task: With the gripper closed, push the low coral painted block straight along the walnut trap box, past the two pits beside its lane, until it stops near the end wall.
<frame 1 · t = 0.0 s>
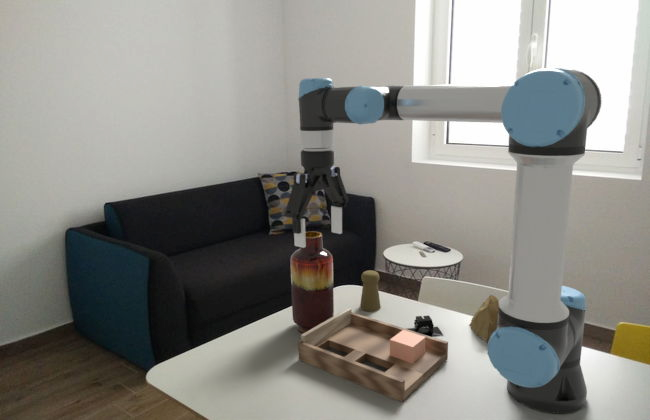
hand: (319, 239, 120), 28 cm above the table, tool pointing down, fingers open, 13 cm apart
black piece: (423, 334, 133), on the table
trap box: (372, 359, 120), on the table
rock: (483, 335, 131), on the table
block: (407, 354, 119), point 2 cm above the table, touching trap box
cork: (370, 307, 149), on the table
vase: (313, 328, 137), on the table
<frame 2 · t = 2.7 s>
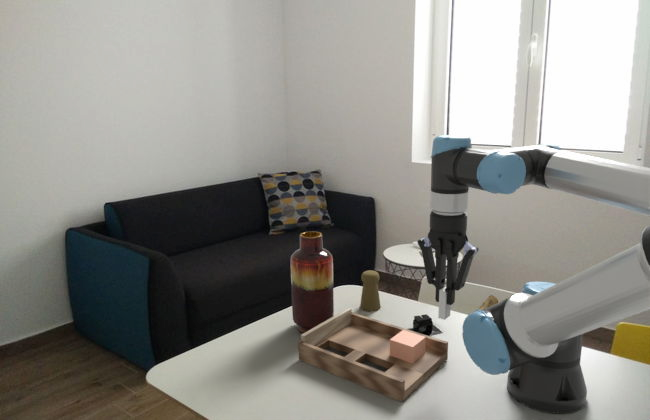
hand: (444, 316, 110), 14 cm above the table, tool pointing down, fingers closed
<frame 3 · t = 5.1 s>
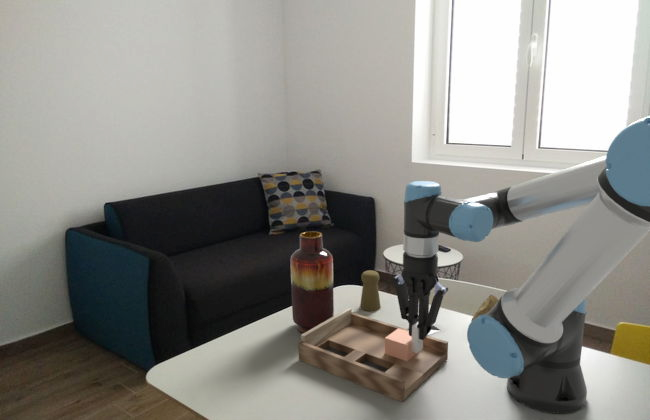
hand: (417, 349, 117), 4 cm above the table, tool pointing down, fingers closed
block: (402, 352, 119), point 2 cm above the table, touching gripper
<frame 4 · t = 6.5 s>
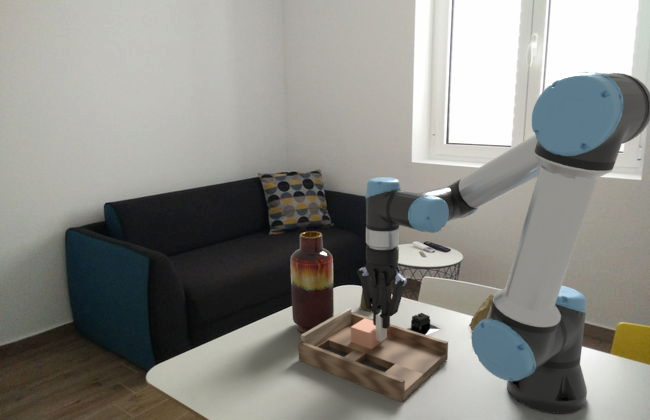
hand: (381, 338, 123), 4 cm above the table, tool pointing down, fingers closed
block: (368, 340, 125), point 2 cm above the table, touching gripper
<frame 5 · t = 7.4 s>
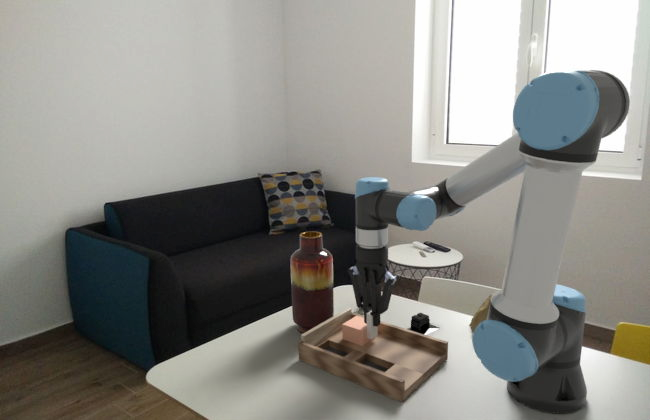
hand: (372, 336, 124), 3 cm above the table, tool pointing down, fingers closed
block: (359, 337, 127), point 2 cm above the table, touching gripper, trap box
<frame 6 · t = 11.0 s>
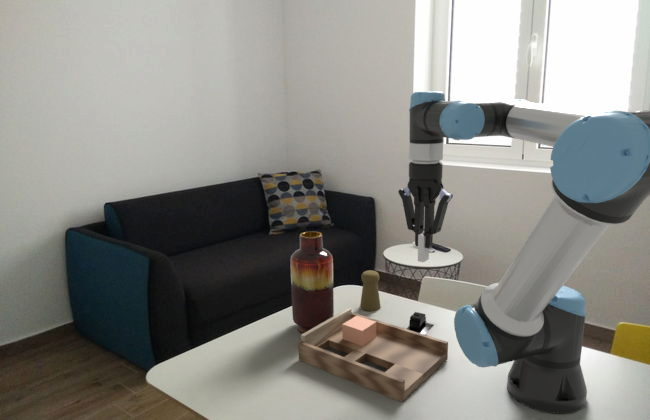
hand: (423, 260, 121), 22 cm above the table, tool pointing down, fingers closed
block: (359, 337, 127), point 2 cm above the table, touching trap box
at the end: block inside the target area (1.3 cm from its centre), point 2.0 cm above the table; block tilted 0°; block moved 13.5 cm from its start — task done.
